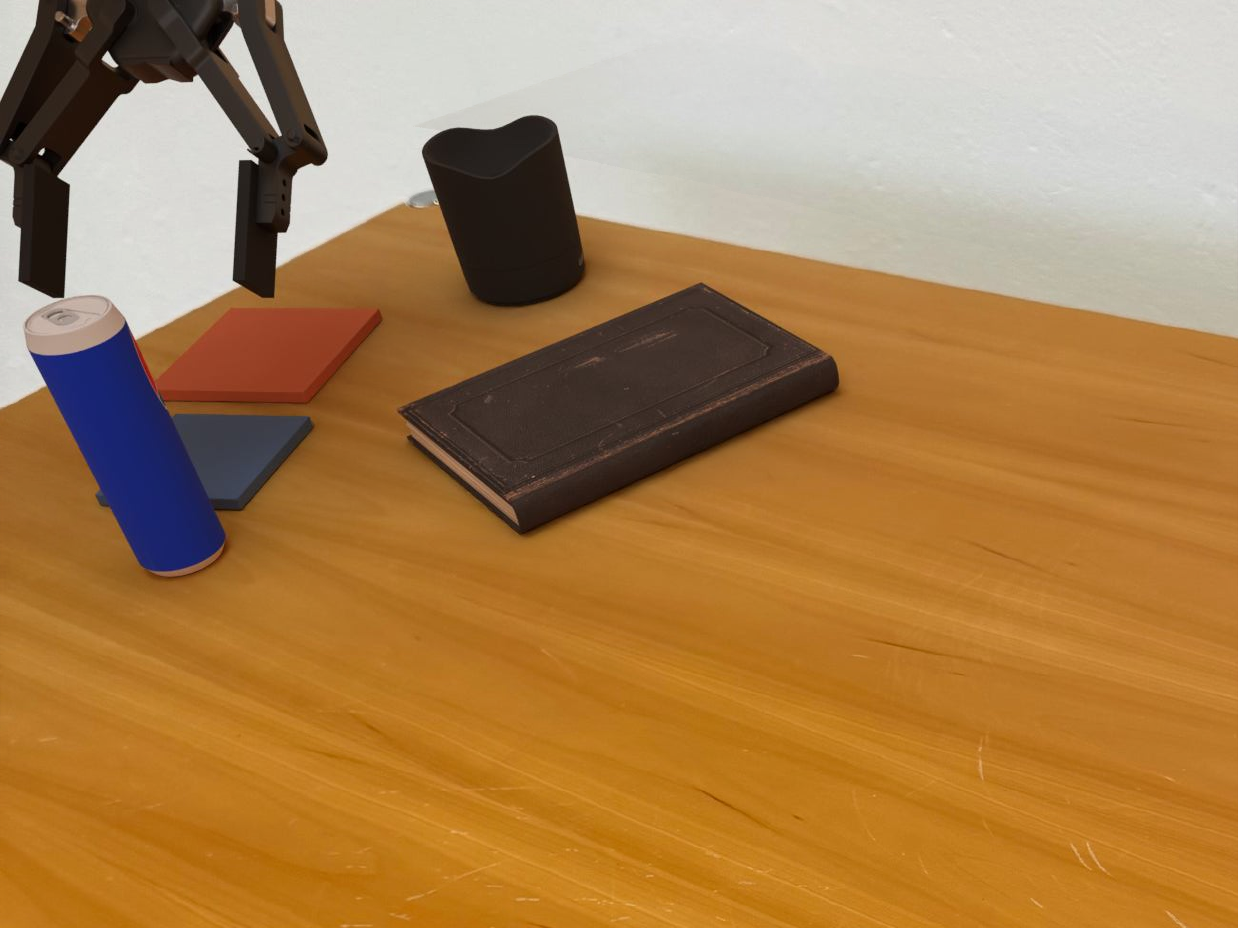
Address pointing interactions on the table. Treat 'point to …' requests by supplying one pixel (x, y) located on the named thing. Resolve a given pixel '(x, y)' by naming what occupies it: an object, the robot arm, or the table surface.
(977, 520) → the table surface
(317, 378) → the terracotta mat
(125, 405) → the beverage can
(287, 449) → the blue mat
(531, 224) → the pen holder
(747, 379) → the hardcover book
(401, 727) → the table surface
